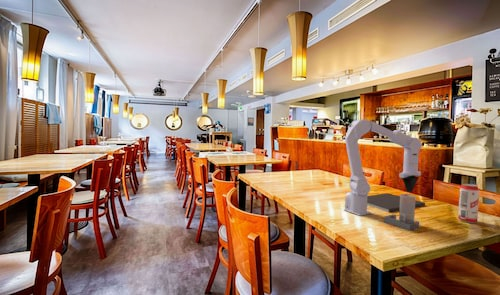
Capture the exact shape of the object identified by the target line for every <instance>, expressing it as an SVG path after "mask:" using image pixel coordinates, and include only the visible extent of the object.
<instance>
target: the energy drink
mask: <svg viewBox="0 0 500 295" xmlns="http://www.w3.org/2000/svg"><path fill="white" fill-rule="evenodd" d="M399 196H400V210H399V211H398V212H399V213H398V220H400V221H403V222H406V223H411V222H414V221H415V214H416V208H415V200H416V196H415V195H412V194H408V193H401V194H400V195H399Z"/></svg>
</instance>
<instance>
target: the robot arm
mask: <svg viewBox="0 0 500 295" xmlns="http://www.w3.org/2000/svg"><path fill="white" fill-rule="evenodd" d="M347 128H348V129H347V132H346V134H345V136H344V140H345V146H346V148H345V149H346V152H347V157H348V162H349V163H348V164H349V169H350V174H351V175H350V176H349V178H350V180H349V184H348V185H349V188H350V190H351V191H348V192H347V193H346V195H345V196H344V197H345V199H344V202H345V203H344V208H343V211H344V212H348V213H352V214H353V215H358V216H359V217H361V216H365V215H369V214H372V212H371V211H370V210H369V211H368V205H367V196H369V193H370V191H371V186H370V184H369V183H368V180H367V178H366V175H365V174H364V169H363V165H362V164H363V163H362V158H361V154H360V148H359V142H358V141H359V140H360V139H361V138H362V136H364V135H366V134H367V133H369V132H374V133H376V134H378V135H381V136H384V137H387V138H388V141H389V142H391V143H393V144H395V145H398V146H400V147H402V149H403V164H402V165H403V166H402V169H403V170H402V172H400V173H399V174H398V177H399V178H401V180H402V181H403V183H404V187H405V191H406V192H407V193H413V191H414V189H415V186H416V184H417V181H418V180H419V177H420V176H421V175H422V171H418V170H419V155H420V150H421V148H422V147H423V143H422V141H421V140H420V139H419V138H418V137H412V135H411V134H407V133H403V130H401V129H395V130H393V131H392V130H391V129H389V128H386V127H384V126H383V125H380V124H378V123H376V122H374V121H372V120H368V119H366V118H362V119H356V120H353V121H351V123H350V124H348V126H347Z"/></svg>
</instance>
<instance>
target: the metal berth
mask: <svg viewBox="0 0 500 295" xmlns="http://www.w3.org/2000/svg"><path fill="white" fill-rule="evenodd" d="M383 223H385V224H389V225H390V226H394V227H397V228H400V229H403V230H405V231H407V232H410V231H414V230H417V229H419V228H420V221H418V220H414V222H411V223H406V222H403V221H400V220H399V219H397V214H394V213H393V214H390V215H385V216H384V217H383Z"/></svg>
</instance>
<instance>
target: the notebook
mask: <svg viewBox="0 0 500 295" xmlns="http://www.w3.org/2000/svg"><path fill="white" fill-rule="evenodd" d="M400 196H401V195H397V194H392V193H387V192H386V193H380V194H372V195H367V207H371V208H375V209H377V210H381V211H383V212H388V213H393V212H399V210H400ZM425 206H426V202H424V201H421V200H416V199H415V209H416V208H419V207H420V208H421V207H425Z"/></svg>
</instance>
